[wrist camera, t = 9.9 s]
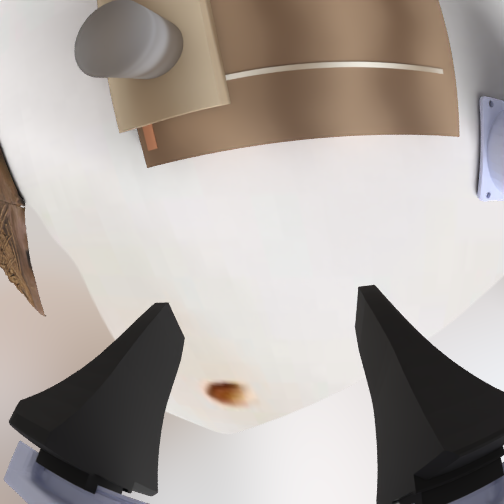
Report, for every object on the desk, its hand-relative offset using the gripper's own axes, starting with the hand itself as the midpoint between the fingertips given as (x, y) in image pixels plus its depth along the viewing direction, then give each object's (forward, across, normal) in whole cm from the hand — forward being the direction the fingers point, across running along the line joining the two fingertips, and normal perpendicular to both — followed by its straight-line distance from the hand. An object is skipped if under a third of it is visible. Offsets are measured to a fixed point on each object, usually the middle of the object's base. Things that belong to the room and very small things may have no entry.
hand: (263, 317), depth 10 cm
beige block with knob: (+9, +4, -13) cm, 16 cm away
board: (+9, -3, -11) cm, 15 cm away
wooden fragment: (+10, +28, -4) cm, 30 cm away
